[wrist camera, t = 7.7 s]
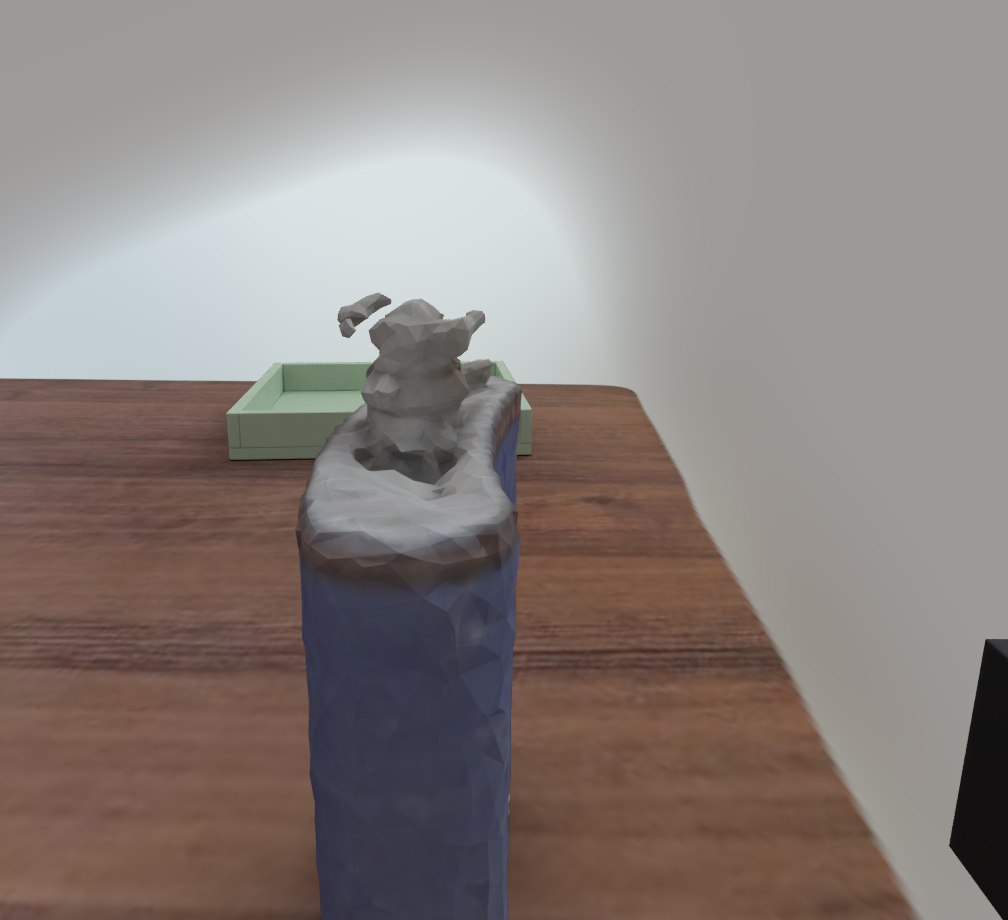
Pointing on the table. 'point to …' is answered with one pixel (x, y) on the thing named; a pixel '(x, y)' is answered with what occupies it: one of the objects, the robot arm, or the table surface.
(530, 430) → the tray
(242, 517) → the table surface
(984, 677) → the robot arm
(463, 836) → the flask
